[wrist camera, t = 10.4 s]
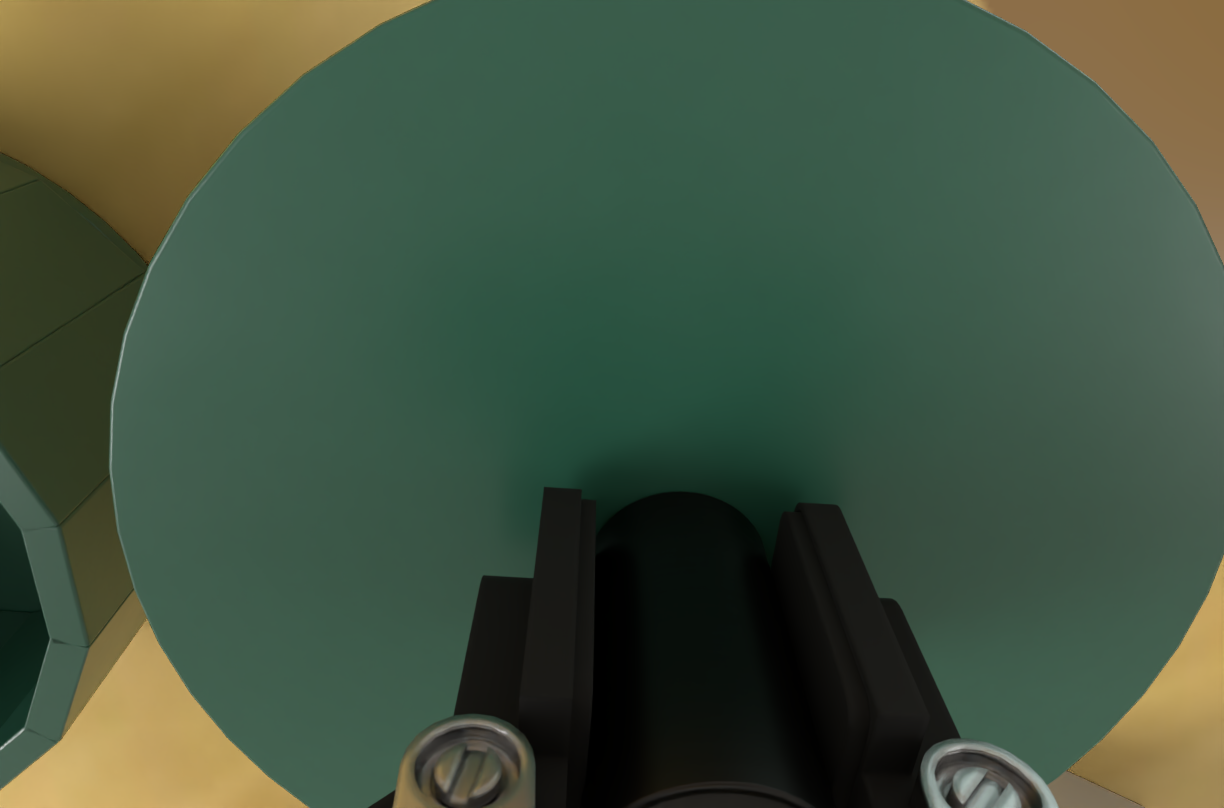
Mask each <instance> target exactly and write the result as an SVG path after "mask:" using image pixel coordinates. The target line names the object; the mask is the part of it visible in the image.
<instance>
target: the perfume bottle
mask: <svg viewBox="0 0 1224 808" xmlns="http://www.w3.org/2000/svg"><path fill="white" fill-rule="evenodd" d="M1047 787H1048V788H1049V790H1050V791H1051V793H1052V794H1053V796H1054V798H1055V800H1056V802H1057V804H1058V807H1059V808H1145V807H1143V806H1141V805H1139V804H1137V803H1135V802H1133V801H1130V800H1128V799H1126V798H1124V797H1122V796H1120V795H1118V794H1115V793H1113V792H1111V791H1109V790H1107V789H1105V788H1103V787H1100V786H1098V785H1096V784H1094V783H1092V782H1090V781H1088V780H1085V779H1083V778H1081V777H1079V776H1077V775H1075V774H1072V773H1070V772H1068V771H1065V772H1064V773H1063V774H1062V775H1061V776H1060V777H1058V778H1057V779H1056V780H1054V781H1053V782H1051V783H1050V784H1049V785H1047Z"/></svg>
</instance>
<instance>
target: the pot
mask: <svg viewBox="0 0 1224 808" xmlns="http://www.w3.org/2000/svg"><path fill="white" fill-rule="evenodd" d="M147 268H148V266H147V265H146V263H145V262H144V261H143V260H142V259H141V257H140V256H139V255H138V254H137V253H136V251H134V250H133V249H132V248H131V247H130V246H129V245H128V244H127V243H126V242H125V241H124V240H123V239H122V238H121V237H120V236H119V235H118V234H117V233H116V232H115V231H114V230H113V229H112V228H111V227H110V226H109V225H108V224H107V223H106V222H105V221H104V220H102V219H101V218H100V217H99V216H97V215H96V214H95V213H94V212H92V211H91V210H90V209H89V208H87V207H86V206H85V205H84V204H82V203H81V202H80V201H79V200H77V199H76V198H75V197H74V196H72V195H71V194H70V193H69V192H67V191H65V190H64V189H62V188H61V187H59V186H58V185H56V184H55V183H53V182H51V181H50V180H48V179H47V178H45V177H44V176H42V175H41V174H39V173H37V172H36V171H34V170H33V169H31V168H30V167H28V166H26V165H24V164H22V163H20V162H18V161H16V160H14V159H12V158H10V157H8V156H6V155H4V154H2V153H0V790H1V789H2V788H4V787H5V786H6V785H7V784H9V783H10V782H11V781H12V780H13V779H15V778H16V777H17V776H18V775H19V774H21V773H22V772H23V771H24V770H26V769H27V768H28V767H29V766H30V765H32V764H33V763H34V762H35V761H36V760H38V759H39V758H40V757H41V756H43V755H44V754H45V753H46V752H47V751H49V750H50V749H51V748H52V747H53V746H55V745H56V744H57V743H58V742H59V741H60V740H61V739H62V738H63V736H64V735H65V734H66V732H67V731H68V729H69V728H70V727H71V725H72V724H73V722H74V721H75V719H76V718H77V717H78V715H79V714H80V712H81V711H82V710H83V708H84V707H85V705H86V704H87V703H88V701H89V700H90V698H91V697H92V695H93V694H94V693H95V691H96V690H97V688H98V687H99V686H100V684H101V683H102V681H103V680H104V679H105V677H106V676H107V674H108V673H109V672H110V670H111V669H112V667H113V666H114V664H115V663H116V662H117V660H118V659H119V657H120V656H121V655H122V653H123V652H124V650H125V649H126V648H127V646H128V645H129V643H130V642H131V640H132V639H133V638H134V636H135V635H136V633H137V632H138V631H139V629H140V628H141V626H142V625H143V624H144V622H145V621H146V619H147V617H146V614H145V612H144V610H143V608H142V606H141V603H140V601H139V599H138V597H137V595H136V592H135V590H134V587H133V584H132V580H131V577H130V573H129V570H128V566H127V563H126V560H125V556H124V553H123V549H122V546H121V543H120V539H119V536H118V532H117V526H116V518H115V511H114V503H113V496H112V488H111V481H110V473H109V444H110V407H111V397H112V392H113V387H114V382H115V376H116V371H117V366H118V361H119V355H120V350H121V345H122V340H123V334H124V331H125V328H126V325H127V323H128V320H129V317H130V314H131V312H132V309H133V306H134V304H135V301H136V298H137V295H138V293H139V290H140V287H141V285H142V282H143V279H144V276H145V274H146V271H147Z"/></svg>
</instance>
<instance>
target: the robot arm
mask: <svg viewBox="0 0 1224 808" xmlns="http://www.w3.org/2000/svg"><path fill="white" fill-rule="evenodd" d="M581 496H582V489H571V488H555V487H544V492H543V500H542V509H541V517H540V526H539V534H538V543H537V552H536V560H535V569H534V577H533V578H522V577H504V576H487V575H483V576H482V578H481V582H480V587H479V591H478V596H477V601H476V606H475V611H474V616H473V621H472V626H471V631H470V636H469V641H468V646H467V651H466V656H465V661H464V666H463V671H462V676H461V681H460V686H459V691H458V695H457V700H456V705H455V710H454V715H453V716H451V717H448V718H446V719H443V720H440V721H437V722H435V723H433V724H431V725H430V726H429V727H427V728H426V729H424V730H423V731H421V732H420V733H418V734H417V736H416V737H415V738H414V739H413V740H412V742H411V743H410V744H409V745H408V747H407V748H406V750H405V753H404V755H403V758H402V761H401V763H400V767H399V773H398V779H397V784H396V790H394V791H392V792H391V793H389V794H388V795H386V796H385V797H383V798H382V799H380V800H379V801H377V802H376V803H374V804H372V805H371V806H369V807H368V808H581V801H582V795H583V790H584V788H585V783H586V772H587V761H588V749H589V738H590V727H591V715H592V698H593V664H594V603H595V543H596V500H586V499H581ZM770 571H771V575H772V578H773V582H774V586H775V589H776V593H777V597H778V600H779V604H780V608H781V611H782V615H783V619H784V622H785V626H786V630H787V633H788V637H789V641H790V644H791V648H792V652H793V655H794V659H795V663H796V666H797V670H798V674H799V677H800V681H801V685H802V688H803V692H804V696H805V699H806V703H807V707H808V710H809V714H810V718H811V721H812V725H813V729H814V732H815V736H816V740H817V743H818V747H819V751H820V754H821V758H822V762H823V765H824V769H825V773H826V776H827V780H828V784H829V787H830V791H831V795H832V798H833V802H834V806H835V808H1059V807H1058V804H1057V802H1056V800H1055V798H1054V796H1053V794H1052V793H1051V791H1050V790H1049V788H1048V787H1047V785H1046V783H1045V782H1044V780H1043V779H1042V778H1041V777H1040V776H1039V775H1038V774H1037V773H1036V772H1035V771H1034V770H1033V769H1032V768H1031V767H1030V766H1029V765H1028V764H1026V763H1025V762H1023V761H1022V760H1020V759H1019V758H1017V757H1016V756H1014V755H1013V754H1011V753H1010V752H1008V751H1006V750H1004V749H1002V748H999V747H997V746H995V745H992V744H990V743H987V742H983V741H978V740H973V739H969V738H964V739H961V737H960V735H959V733H958V730H957V728H956V726H955V724H954V722H953V719H952V717H951V715H950V713H949V711H948V709H947V706H946V704H945V702H944V700H943V698H942V695H941V693H940V691H939V689H938V687H937V685H936V682H935V680H934V678H933V676H932V674H931V671H930V669H929V667H928V665H927V663H926V661H925V658H924V656H923V654H922V652H921V650H920V648H919V645H918V643H917V641H916V639H915V637H914V634H913V632H912V630H911V628H910V626H909V624H908V621H907V619H906V617H905V615H904V613H903V610H902V609H901V607H900V605H899V604H898V602H897V601H895V600H894V599H892V598H879V597H878V595H877V592H876V590H875V588H874V585H873V583H872V581H871V578H870V576H869V574H868V571H867V569H866V567H865V564H864V562H863V560H862V557H861V555H860V553H859V550H858V548H857V546H856V543H855V541H854V539H853V537H852V534H851V532H850V530H849V527H848V525H847V523H846V520H845V518H844V516H843V513H842V511H841V509H840V507H839V506H838V505H835V504H819V503H802V502H799V503H798V504H797V505H796V507H795V509H794V512H786V511H784V512H783V513H782V515H781V519H780V523H779V528H778V534H777V539H776V544H775V549H774V554H773V559H772V565H771V570H770Z"/></svg>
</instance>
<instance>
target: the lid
mask: <svg viewBox="0 0 1224 808" xmlns="http://www.w3.org/2000/svg"><path fill="white" fill-rule="evenodd" d="M109 473H110V481H111V488H112V496H113V503H114V511H115V518H116V526H117V532H118V536H119V539H120V543H121V546H122V549H123V553H124V556H125V560H126V563H127V566H128V570H129V573H130V577H131V580H132V584H133V587H134V590H135V592H136V595H137V597H138V599H139V601H140V603H141V606H142V608H143V610H144V612H145V614H146V617H147V619H148V621H149V623H150V625H151V627H152V630H153V632H154V634H155V636H156V638H157V641H158V643H159V645H160V646H161V648H162V649H163V651H164V653H165V654H166V656H167V657H168V659H169V660H170V662H171V664H172V665H173V667H174V668H175V670H176V672H177V673H178V675H179V676H180V678H181V679H182V681H183V683H184V684H185V686H186V687H187V689H188V690H189V692H190V694H191V695H192V696H193V697H194V698H195V700H196V701H197V702H198V703H199V704H200V706H201V707H202V708H203V709H204V710H205V712H206V713H207V714H208V715H209V716H210V718H211V719H212V720H213V721H214V722H215V724H216V725H217V726H218V727H219V728H220V730H221V731H222V732H223V733H224V734H225V736H226V737H227V738H228V739H229V740H230V741H231V742H232V743H233V744H234V745H235V746H236V747H237V748H239V749H240V750H241V751H242V752H243V753H244V754H245V755H246V756H247V757H248V758H249V759H250V760H251V761H252V762H253V763H254V764H255V765H256V766H258V767H259V768H260V769H261V770H262V771H263V772H264V773H265V774H266V775H267V776H268V777H269V778H271V779H272V780H273V781H275V782H276V783H277V784H279V785H280V786H281V787H283V788H284V789H285V790H287V791H288V792H289V793H290V794H292V795H293V796H294V797H296V798H297V799H298V800H300V801H301V802H302V803H304V804H305V805H306V806H308V807H309V808H368V807H369V806H371V805H372V804H374V803H376V802H377V801H379V800H380V799H382V798H383V797H385V796H386V795H388V794H389V793H391V792H392V791H394V790H396V784H397V779H398V773H399V767H400V763H401V761H402V758H403V755H404V753H405V750H406V748H407V747H408V745H409V744H410V743H411V742H412V740H413V739H414V738H415V737H416V736H417V734H418V733H420V732H421V731H423V730H424V729H426V728H427V727H429V726H430V725H431V724H433V723H435V722H437V721H440V720H443V719H446V718H448V717H451V716H453V715H454V710H455V705H456V700H457V695H458V691H459V686H460V681H461V676H462V671H463V666H464V661H465V656H466V651H467V646H468V641H469V636H470V631H471V626H472V621H473V616H474V611H475V606H476V601H477V596H478V591H479V587H480V582H481V578H482V576H483V575H487V576H504V577H522V578H533V577H534V569H535V560H536V552H537V543H538V534H539V526H540V517H541V509H542V500H543V492H544V487H555V488H571V489H582V496H581V499H586V500H596V543H595V603H594V664H593V698H592V715H591V727H590V738H589V749H588V761H587V772H586V783H585V788H584V790H583V795H582V801H581V808H835V806H834V802H833V798H832V795H831V791H830V787H829V784H828V780H827V776H826V773H825V769H824V765H823V762H822V758H821V754H820V751H819V747H818V743H817V740H816V736H815V732H814V729H813V725H812V721H811V718H810V714H809V710H808V707H807V703H806V699H805V696H804V692H803V688H802V685H801V681H800V677H799V674H798V670H797V666H796V663H795V659H794V655H793V652H792V648H791V644H790V641H789V637H788V633H787V630H786V626H785V622H784V619H783V615H782V611H781V608H780V604H779V600H778V597H777V593H776V589H775V586H774V582H773V578H772V575H771V571H770V570H771V565H772V559H773V554H774V549H775V544H776V539H777V534H778V528H779V523H780V519H781V515H782V513H783V512H784V511H786V512H794V509H795V507H796V505H797V504H798V503H799V502H802V503H819V504H835V505H838V506H839V507H840V509H841V511H842V513H843V516H844V518H845V520H846V523H847V525H848V527H849V530H850V532H851V534H852V537H853V539H854V541H855V543H856V546H857V548H858V550H859V553H860V555H861V557H862V560H863V562H864V564H865V567H866V569H867V571H868V574H869V576H870V578H871V581H872V583H873V585H874V588H875V590H876V592H877V595H878V597H879V598H892V599H894V600H895V601H897V602H898V604H899V605H900V607H901V609H902V610H903V613H904V615H905V617H906V619H907V621H908V624H909V626H910V628H911V630H912V632H913V634H914V637H915V639H916V641H917V643H918V645H919V648H920V650H921V652H922V654H923V656H924V658H925V661H926V663H927V665H928V667H929V669H930V671H931V674H932V676H933V678H934V680H935V682H936V685H937V687H938V689H939V691H940V693H941V695H942V698H943V700H944V702H945V704H946V706H947V709H948V711H949V713H950V715H951V717H952V719H953V722H954V724H955V726H956V728H957V730H958V733H959V735H960V737H961V739H964V738H969V739H973V740H978V741H983V742H987V743H990V744H992V745H995V746H997V747H999V748H1002V749H1004V750H1006V751H1008V752H1010V753H1011V754H1013V755H1014V756H1016V757H1017V758H1019V759H1020V760H1022V761H1023V762H1025V763H1026V764H1028V765H1029V766H1030V767H1031V768H1032V769H1033V770H1034V771H1035V772H1036V773H1037V774H1038V775H1039V776H1040V777H1041V778H1042V779H1043V780H1044V782H1045V783H1046V785H1049V784H1050V783H1051V782H1053V781H1054V780H1056V779H1057V778H1058V777H1060V776H1061V775H1062V774H1063V773H1064V772H1065V771H1066V770H1068V769H1069V768H1070V767H1071V766H1072V765H1073V764H1075V763H1076V762H1077V761H1078V760H1079V759H1080V758H1081V757H1083V756H1084V755H1085V754H1086V753H1087V752H1088V751H1090V750H1091V749H1092V748H1093V747H1094V746H1095V745H1096V744H1098V743H1099V742H1100V741H1101V740H1102V739H1103V738H1104V737H1105V736H1106V735H1107V734H1108V733H1109V732H1110V731H1111V730H1112V728H1113V727H1114V726H1115V725H1116V724H1117V723H1118V722H1119V721H1120V720H1121V719H1122V718H1123V717H1124V716H1125V714H1126V713H1127V712H1128V711H1129V710H1130V709H1131V708H1132V707H1133V706H1134V705H1135V704H1136V703H1137V702H1138V701H1139V699H1140V698H1141V697H1142V696H1143V695H1144V694H1145V692H1146V691H1147V689H1148V688H1149V687H1150V685H1151V684H1152V683H1153V681H1154V680H1155V679H1156V677H1157V676H1158V675H1159V673H1160V672H1161V670H1162V669H1163V668H1164V666H1165V665H1166V664H1167V662H1168V661H1169V660H1170V658H1171V657H1172V655H1173V654H1174V653H1175V651H1176V650H1177V649H1178V647H1179V645H1180V644H1181V642H1182V640H1183V638H1184V637H1185V635H1186V633H1187V631H1188V629H1189V628H1190V626H1191V624H1192V622H1193V620H1194V619H1195V617H1196V615H1197V613H1198V611H1199V610H1200V608H1201V606H1202V604H1203V602H1204V601H1205V599H1206V597H1207V595H1208V593H1209V591H1210V588H1211V586H1212V583H1213V581H1214V578H1215V576H1216V573H1217V571H1218V568H1219V565H1220V563H1221V560H1222V558H1223V555H1224V265H1223V263H1222V260H1221V258H1220V256H1219V254H1218V252H1217V249H1216V247H1215V245H1214V243H1213V241H1212V239H1211V236H1210V234H1209V232H1208V230H1207V227H1206V225H1205V223H1204V221H1203V219H1202V216H1201V214H1200V212H1199V210H1198V207H1197V205H1196V204H1195V202H1194V201H1193V199H1192V198H1191V197H1190V195H1189V193H1188V192H1187V190H1186V189H1185V188H1184V186H1183V185H1182V183H1181V182H1180V180H1179V179H1178V177H1177V176H1176V175H1175V173H1174V171H1173V170H1172V169H1171V167H1170V166H1169V164H1168V163H1167V161H1166V160H1165V158H1164V157H1163V155H1162V154H1161V152H1160V151H1159V149H1158V148H1157V146H1156V145H1155V144H1154V142H1153V141H1152V140H1151V139H1150V138H1149V137H1148V136H1147V135H1146V134H1145V132H1143V130H1142V129H1141V128H1140V127H1138V125H1137V124H1136V123H1135V122H1134V121H1133V120H1132V119H1131V118H1130V117H1129V116H1128V115H1127V114H1126V113H1125V112H1124V111H1123V110H1122V109H1121V108H1120V107H1119V106H1118V105H1117V104H1116V103H1115V102H1114V101H1113V100H1112V98H1111V97H1110V96H1109V95H1108V94H1107V93H1106V92H1105V91H1104V90H1103V89H1102V88H1101V87H1100V86H1099V85H1098V84H1097V83H1096V82H1095V81H1093V80H1092V79H1091V78H1089V77H1088V76H1087V75H1085V74H1084V73H1083V72H1081V71H1080V70H1079V69H1077V68H1076V67H1074V66H1073V65H1072V64H1070V63H1069V62H1068V61H1066V60H1065V59H1063V58H1062V57H1061V56H1059V55H1058V54H1057V53H1055V52H1054V51H1053V50H1051V49H1050V48H1048V47H1047V46H1046V45H1045V44H1043V43H1042V42H1040V41H1039V40H1038V39H1036V38H1035V37H1033V36H1032V35H1031V34H1030V33H1028V32H1027V31H1025V30H1023V29H1021V28H1019V27H1017V26H1015V25H1014V24H1012V23H1010V22H1007V21H1006V20H1004V19H1002V18H1000V17H998V16H996V15H994V14H992V13H990V12H988V11H986V10H984V9H982V8H980V7H978V6H976V5H974V4H972V3H970V2H968V1H966V0H431V1H429V2H427V3H424V4H422V5H420V6H418V7H416V8H413V9H411V10H409V11H407V12H405V13H403V14H400V15H398V16H396V17H394V18H392V19H390V20H387V21H385V22H383V23H381V24H379V25H377V26H376V27H374V28H373V29H371V30H370V31H368V32H367V33H365V34H364V35H362V36H361V37H359V38H358V39H356V40H355V41H353V42H352V43H350V44H349V45H347V46H346V47H344V48H342V49H341V50H339V51H338V52H336V53H335V54H333V55H332V56H330V57H329V58H327V59H326V60H324V61H323V62H321V63H320V64H318V65H317V66H315V67H314V68H312V69H311V70H309V71H307V72H306V73H304V74H303V75H302V76H301V77H300V78H299V79H298V80H296V81H295V82H294V83H293V84H292V85H291V86H290V87H289V88H288V89H286V90H285V91H284V92H283V93H282V94H281V95H280V96H279V97H278V98H277V99H275V100H274V101H273V102H272V103H271V104H270V105H269V106H268V107H267V108H265V109H264V110H263V111H262V112H261V113H260V114H259V115H258V116H257V117H255V118H254V119H253V120H252V121H251V122H250V123H249V124H248V125H247V126H246V127H244V128H243V129H242V130H241V131H240V132H239V133H238V134H237V136H236V137H235V138H234V139H233V140H232V142H231V143H230V144H229V145H228V147H227V148H226V149H225V150H224V152H223V153H222V154H221V155H220V157H219V158H218V159H217V160H216V162H215V163H214V164H213V165H212V167H211V168H210V169H209V170H208V172H207V173H206V174H205V175H204V176H203V178H202V179H201V180H200V181H199V183H198V184H197V185H196V186H195V188H194V189H193V190H192V191H191V193H190V194H189V195H188V196H187V198H186V200H185V202H184V203H183V205H182V207H181V209H180V210H179V212H178V214H177V216H176V217H175V219H174V221H173V223H172V224H171V226H170V228H169V230H168V232H167V233H166V235H165V237H164V239H163V240H162V242H161V244H160V246H159V247H158V249H157V251H156V253H155V254H154V256H153V258H152V260H151V261H150V263H149V266H148V268H147V271H146V274H145V276H144V279H143V282H142V285H141V287H140V290H139V293H138V295H137V298H136V301H135V304H134V306H133V309H132V312H131V314H130V317H129V320H128V323H127V325H126V328H125V331H124V334H123V340H122V345H121V350H120V355H119V361H118V366H117V371H116V376H115V382H114V387H113V392H112V397H111V407H110V444H109Z"/></svg>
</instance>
